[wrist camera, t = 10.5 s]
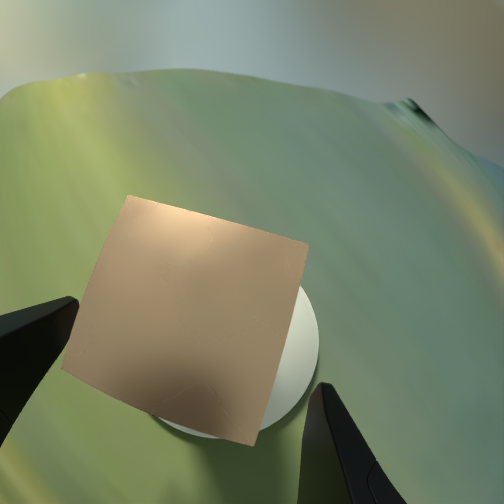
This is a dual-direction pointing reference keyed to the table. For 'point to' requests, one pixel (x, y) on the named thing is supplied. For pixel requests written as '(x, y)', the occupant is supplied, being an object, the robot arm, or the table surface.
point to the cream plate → (288, 365)
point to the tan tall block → (187, 317)
